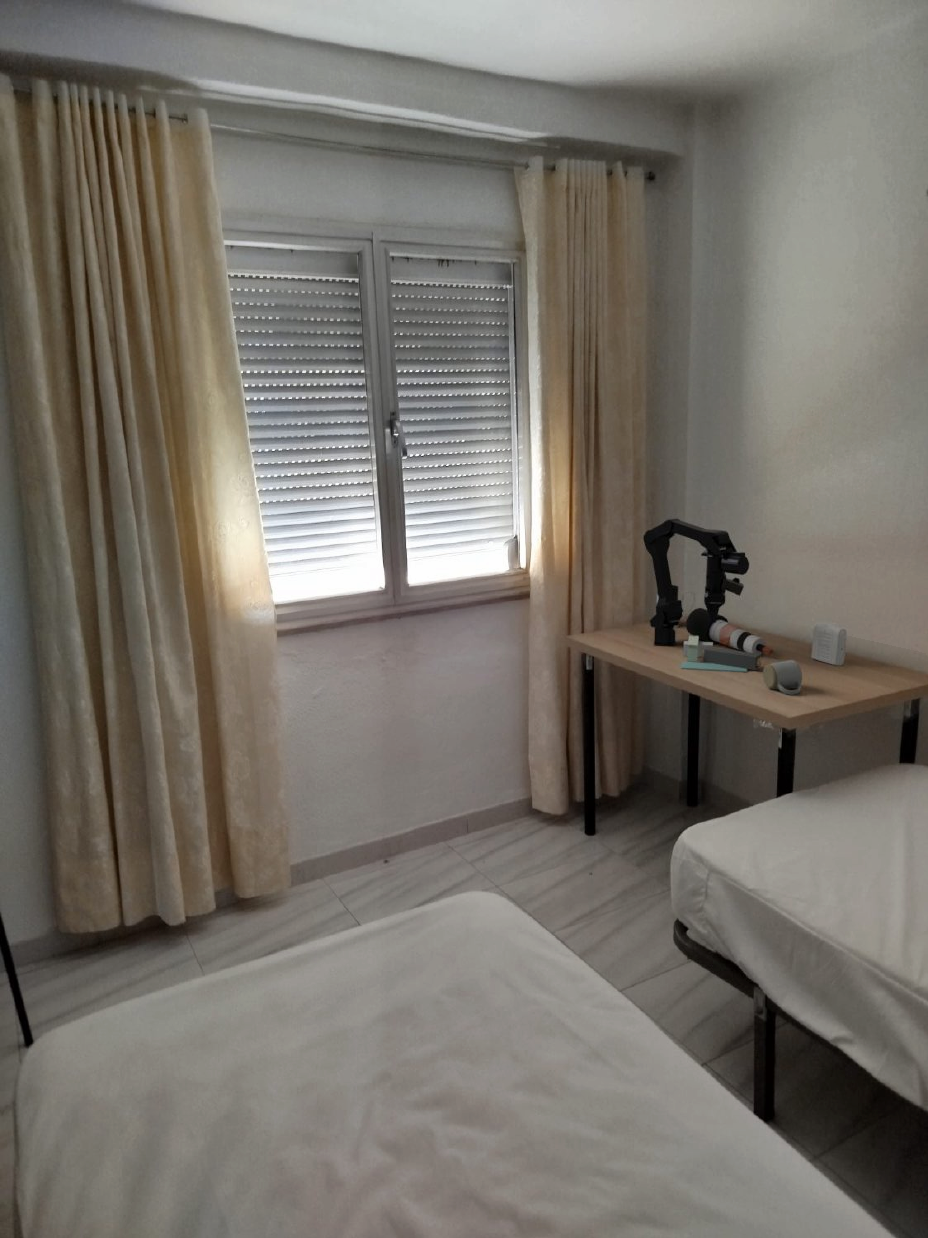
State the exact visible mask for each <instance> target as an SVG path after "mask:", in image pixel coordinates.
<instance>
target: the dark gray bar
mask: <svg viewBox="0 0 928 1238" xmlns="http://www.w3.org/2000/svg"><path fill="white" fill-rule="evenodd" d="M761 654H762V653H761ZM761 654H755V653H748V652H745V651H742V650H734V649H733V650H732V649H726V648H721V647H714V646H713V647H708V648H706V649H704V651H703V657H702V659H703V663H714V664H720V665H726V666H732V667H739V668H745V669H747V670H751V671H752V670H753V671H756V670H757V669H759V668H760V667H761V666H762V663H763V659H762V658H761Z"/></svg>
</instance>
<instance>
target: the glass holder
mask: <svg viewBox="0 0 928 1238" xmlns="http://www.w3.org/2000/svg"><path fill="white" fill-rule="evenodd" d="M672 588H673V594H674V597H675V598H676V599H677V600H679V586H678V585H674V584H672ZM686 593H691V594H692V595H693V601H692V605H691V606H690V608H689V609H688V610H687V611H686V612H685V613H683V614H682V617H681V618H683V617H684V616H686V615H687V614H688V613H689V612H691V611H692V608H693V607H694V604H695V602H696V601H695V599H696V596H695V593H694V592H693V591H691V590H686V591H684V592H683V594H682V596H681V602H682V603H683V600H684V598H685V597H684V596H685V594H686ZM658 599H659V596H658V590H657V591H656V603H657V602H658ZM679 627H680V626H679V624H678V625H677V626H674V629H677V628H679Z"/></svg>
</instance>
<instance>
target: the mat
mask: <svg viewBox="0 0 928 1238" xmlns="http://www.w3.org/2000/svg"><path fill="white" fill-rule="evenodd" d="M680 669H681V670H695V671H696V670H697V671H698V670H699V671H715V672H730V673H732V672H733V673H748V669H745V668H739V667H732V666H726V665H720V664H714V663H707V662H698V661H697V662H687V661H682V662H681V666H680Z"/></svg>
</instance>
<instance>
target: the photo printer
mask: <svg viewBox="0 0 928 1238" xmlns="http://www.w3.org/2000/svg"><path fill="white" fill-rule="evenodd" d="M846 644H847V630H846V628H844V627H843V626H841V625H840V624H837V623H834V622H831V621H820V622H816V623H815V624H814V626H813V633H812V646H811V658H812V659H813V660H816V661H820V662H824V663H827V664H830V665H833V666H837V667H838V666H843V664H845V657H846V656H845V655H846V647H847V645H846Z"/></svg>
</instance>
